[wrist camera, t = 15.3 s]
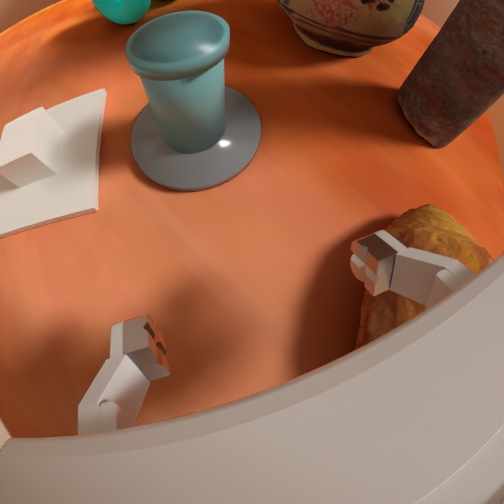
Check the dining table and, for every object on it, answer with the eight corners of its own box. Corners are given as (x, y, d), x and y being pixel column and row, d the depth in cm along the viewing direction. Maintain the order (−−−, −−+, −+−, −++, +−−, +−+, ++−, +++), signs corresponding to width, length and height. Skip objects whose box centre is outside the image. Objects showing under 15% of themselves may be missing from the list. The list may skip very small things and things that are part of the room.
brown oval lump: (310, 386, 20) (337, 442, 12) (369, 192, 21) (422, 157, 13) (443, 403, 20) (491, 437, 12) (488, 248, 20) (547, 242, 12)
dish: (271, 180, 20) (273, 176, 19) (134, 203, 19) (130, 199, 18) (248, 81, 22) (249, 75, 21) (135, 99, 21) (133, 94, 20)
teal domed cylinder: (234, 151, 19) (236, 57, 11) (159, 163, 19) (119, 78, 10) (224, 96, 20) (223, 5, 11) (158, 107, 20) (130, 22, 11)
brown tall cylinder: (384, 119, 22) (502, -41, 2) (395, 78, 23) (481, -52, 4) (447, 162, 22) (585, 51, 2) (450, 117, 23) (552, 13, 4)
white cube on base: (98, 211, 19) (67, 187, 14) (-4, 239, 18) (-38, 226, 13) (106, 93, 21) (89, 59, 16) (13, 130, 20) (-10, 108, 15)
